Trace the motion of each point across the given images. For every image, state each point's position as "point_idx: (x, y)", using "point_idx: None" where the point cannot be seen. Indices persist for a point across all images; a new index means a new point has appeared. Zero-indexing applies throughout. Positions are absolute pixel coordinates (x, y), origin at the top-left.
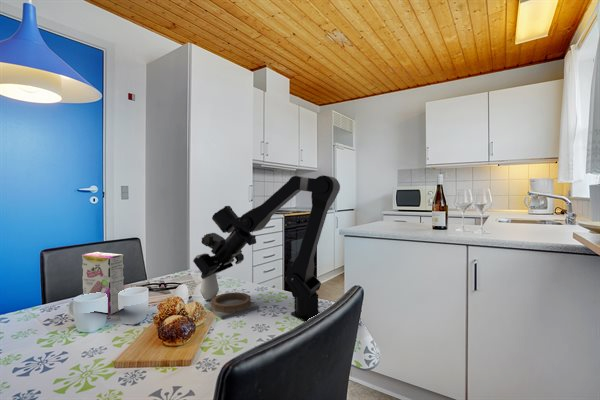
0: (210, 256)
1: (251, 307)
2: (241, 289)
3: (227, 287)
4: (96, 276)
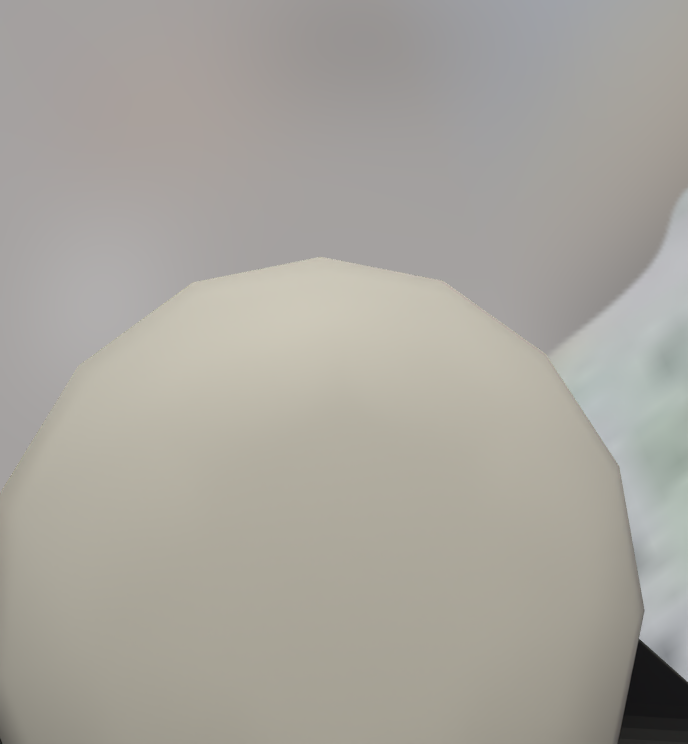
0: (461, 608)
1: None
2: (652, 636)
3: (643, 461)
4: None
